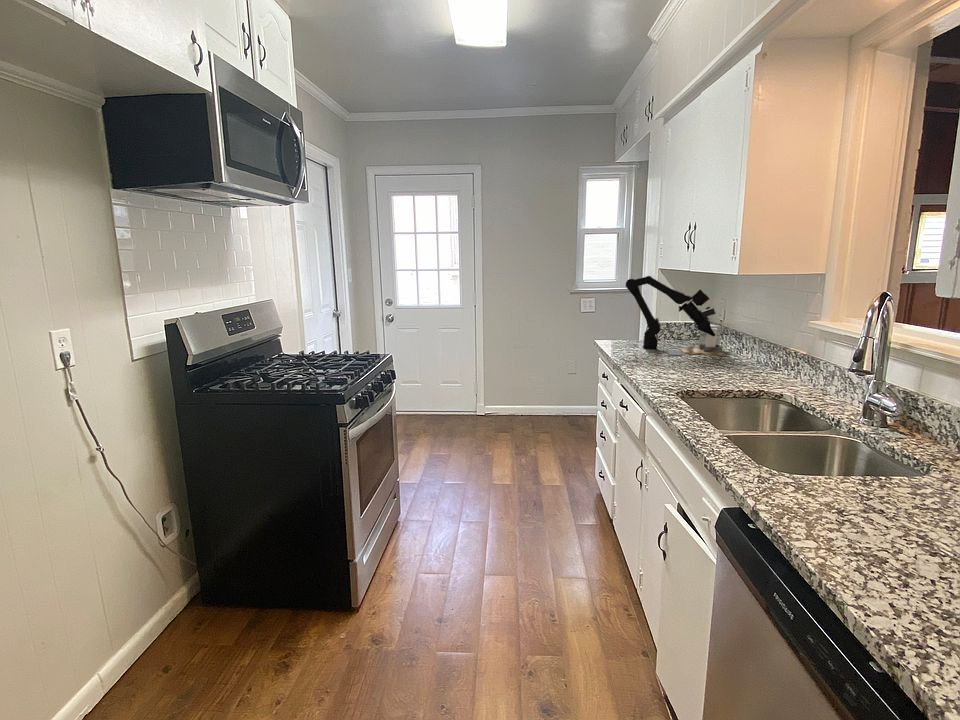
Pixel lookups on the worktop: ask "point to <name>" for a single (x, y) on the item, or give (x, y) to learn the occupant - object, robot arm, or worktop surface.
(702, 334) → the supplement box
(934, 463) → the worktop surface
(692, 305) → the robot arm
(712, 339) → the block
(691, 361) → the worktop surface
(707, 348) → the dock station
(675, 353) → the phone
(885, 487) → the worktop surface
